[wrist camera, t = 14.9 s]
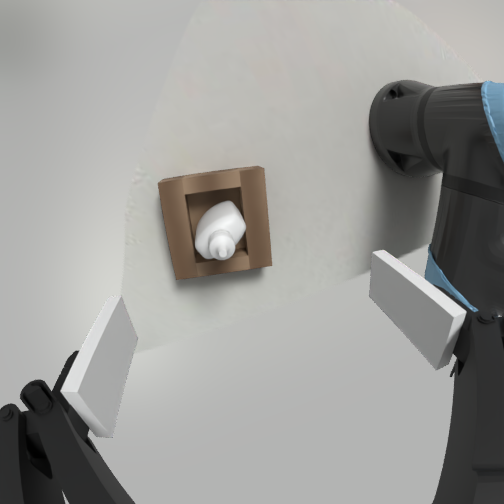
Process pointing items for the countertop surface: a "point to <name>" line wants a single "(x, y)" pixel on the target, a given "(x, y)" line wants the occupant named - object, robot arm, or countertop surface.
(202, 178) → the walnut bottle stand
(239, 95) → the countertop surface
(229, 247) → the eye dropper bottle
